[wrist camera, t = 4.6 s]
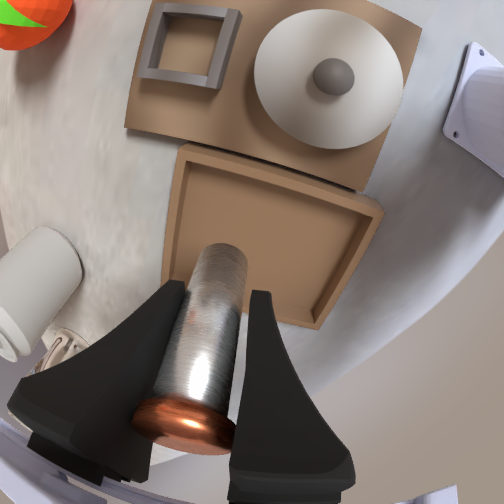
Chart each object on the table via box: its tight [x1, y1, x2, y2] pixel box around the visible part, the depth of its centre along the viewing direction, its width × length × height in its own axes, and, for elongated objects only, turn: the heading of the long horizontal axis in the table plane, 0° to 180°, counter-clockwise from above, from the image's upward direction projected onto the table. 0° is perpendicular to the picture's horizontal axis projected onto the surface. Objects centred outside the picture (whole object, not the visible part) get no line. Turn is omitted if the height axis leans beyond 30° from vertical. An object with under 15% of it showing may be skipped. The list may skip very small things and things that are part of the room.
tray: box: [161, 142, 385, 330], centre depth 20 cm, size 13×11×2 cm
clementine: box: [0, 0, 73, 50], centre depth 9 cm, size 8×7×7 cm
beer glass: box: [8, 328, 89, 432], centre depth 27 cm, size 7×7×15 cm
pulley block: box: [124, 0, 422, 193], centre depth 13 cm, size 16×12×3 cm
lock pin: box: [131, 243, 248, 455], centre depth 9 cm, size 3×3×8 cm
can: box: [0, 226, 82, 362], centre depth 19 cm, size 8×8×12 cm
